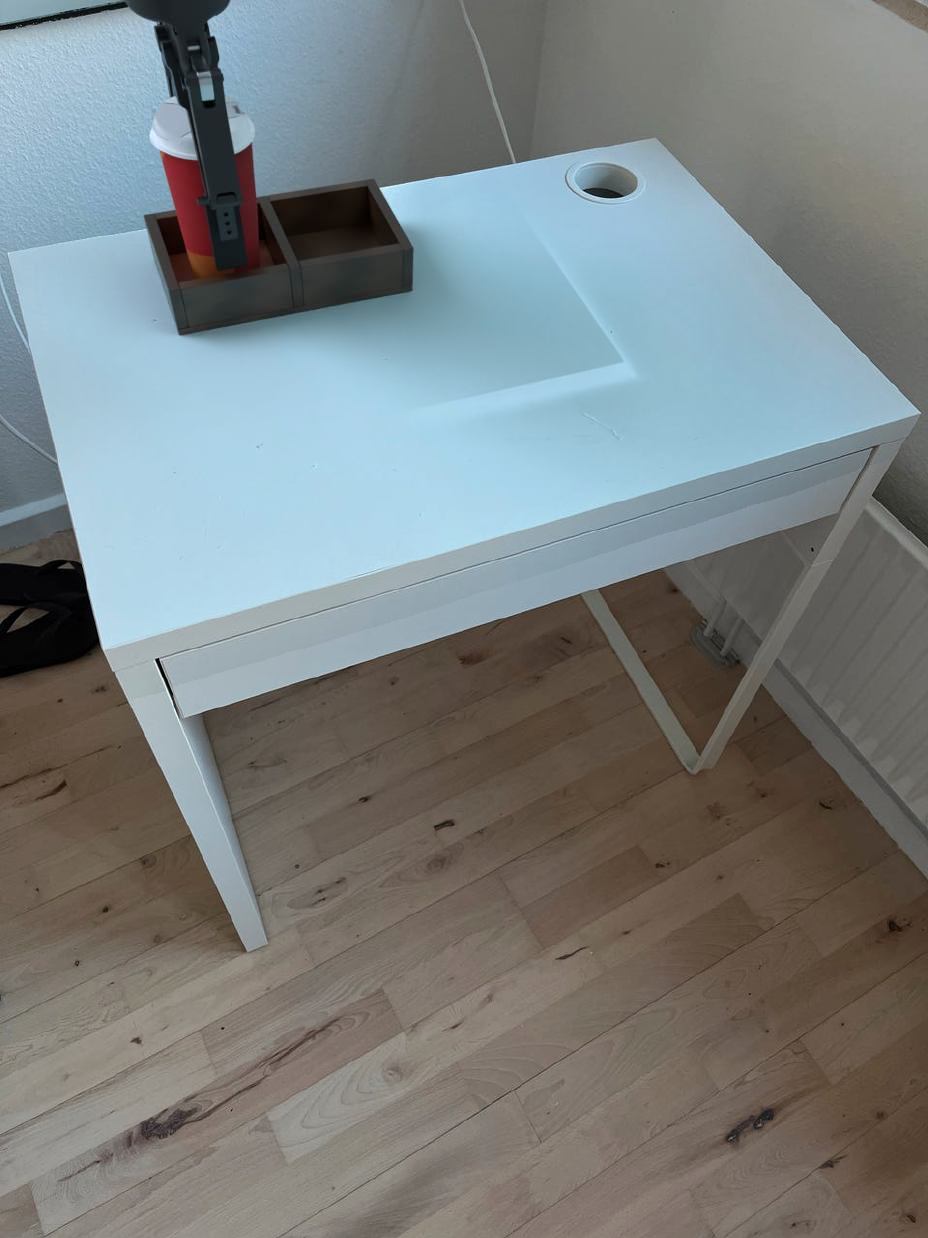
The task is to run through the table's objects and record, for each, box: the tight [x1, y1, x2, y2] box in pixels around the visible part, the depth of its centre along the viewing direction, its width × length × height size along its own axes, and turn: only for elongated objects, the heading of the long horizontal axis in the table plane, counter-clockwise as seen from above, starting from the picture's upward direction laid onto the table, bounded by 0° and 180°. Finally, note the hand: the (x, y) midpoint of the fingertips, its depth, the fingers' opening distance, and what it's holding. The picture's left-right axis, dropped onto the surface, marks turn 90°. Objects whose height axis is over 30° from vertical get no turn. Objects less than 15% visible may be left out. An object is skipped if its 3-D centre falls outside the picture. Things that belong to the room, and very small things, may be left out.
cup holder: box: [143, 178, 414, 336], centre depth 87 cm, size 22×12×5 cm, turn 111°
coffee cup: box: [148, 94, 260, 279], centre depth 81 cm, size 8×8×15 cm
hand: (220, 235), depth 83 cm, fingers closed on coffee cup, 8 cm apart
